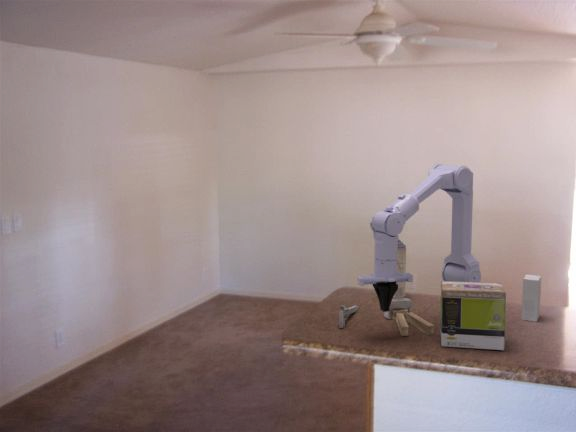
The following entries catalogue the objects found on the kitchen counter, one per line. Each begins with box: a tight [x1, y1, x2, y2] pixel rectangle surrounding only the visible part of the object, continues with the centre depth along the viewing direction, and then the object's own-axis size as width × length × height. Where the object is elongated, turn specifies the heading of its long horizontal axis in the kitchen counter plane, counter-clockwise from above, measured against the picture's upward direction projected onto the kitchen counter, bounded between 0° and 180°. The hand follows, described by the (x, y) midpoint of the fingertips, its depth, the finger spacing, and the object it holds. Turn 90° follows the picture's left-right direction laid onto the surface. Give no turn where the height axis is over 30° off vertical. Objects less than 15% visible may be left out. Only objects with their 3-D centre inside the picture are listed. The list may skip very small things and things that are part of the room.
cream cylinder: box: [392, 238, 407, 299], centre depth 191 cm, size 7×7×20 cm
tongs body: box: [390, 308, 435, 336], centre depth 165 cm, size 4×18×2 cm, turn 17°
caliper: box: [338, 305, 359, 329], centre depth 171 cm, size 20×1×6 cm, turn 161°
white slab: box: [383, 297, 413, 320], centre depth 172 cm, size 7×3×5 cm, turn 107°
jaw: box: [395, 311, 409, 337], centre depth 162 cm, size 2×14×2 cm, turn 177°
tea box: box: [439, 280, 507, 351], centre depth 150 cm, size 15×10×15 cm
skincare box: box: [520, 274, 542, 323], centre depth 170 cm, size 6×4×12 cm
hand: (384, 310), depth 155 cm, fingers closed
